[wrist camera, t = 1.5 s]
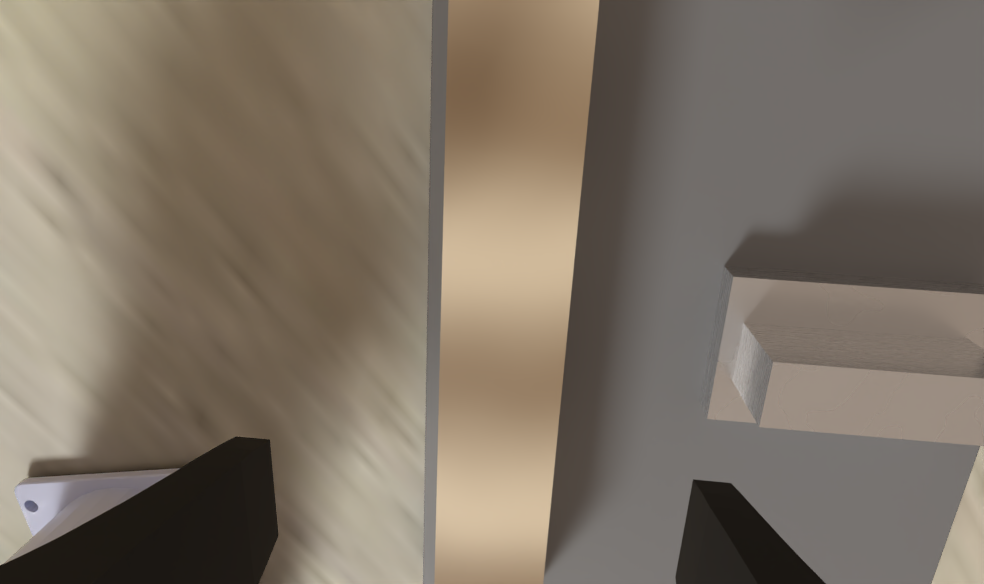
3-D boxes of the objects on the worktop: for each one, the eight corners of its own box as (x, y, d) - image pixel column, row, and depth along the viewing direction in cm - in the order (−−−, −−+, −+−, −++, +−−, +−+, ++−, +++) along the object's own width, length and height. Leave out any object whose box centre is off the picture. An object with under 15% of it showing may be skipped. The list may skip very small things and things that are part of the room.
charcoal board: (897, 612, 23) (912, 636, 22) (427, 566, 24) (422, 586, 23) (1119, -41, 16) (1155, -48, 15) (440, -69, 17) (433, -76, 16)
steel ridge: (935, 421, 19) (1014, 494, 16) (699, 402, 20) (729, 469, 17) (979, 283, 18) (1076, 333, 15) (723, 265, 18) (761, 309, 15)
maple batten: (535, 586, 23) (533, 689, 19) (451, 578, 23) (432, 679, 19) (593, -48, 16) (607, -81, 12) (473, -52, 16) (450, -87, 12)
